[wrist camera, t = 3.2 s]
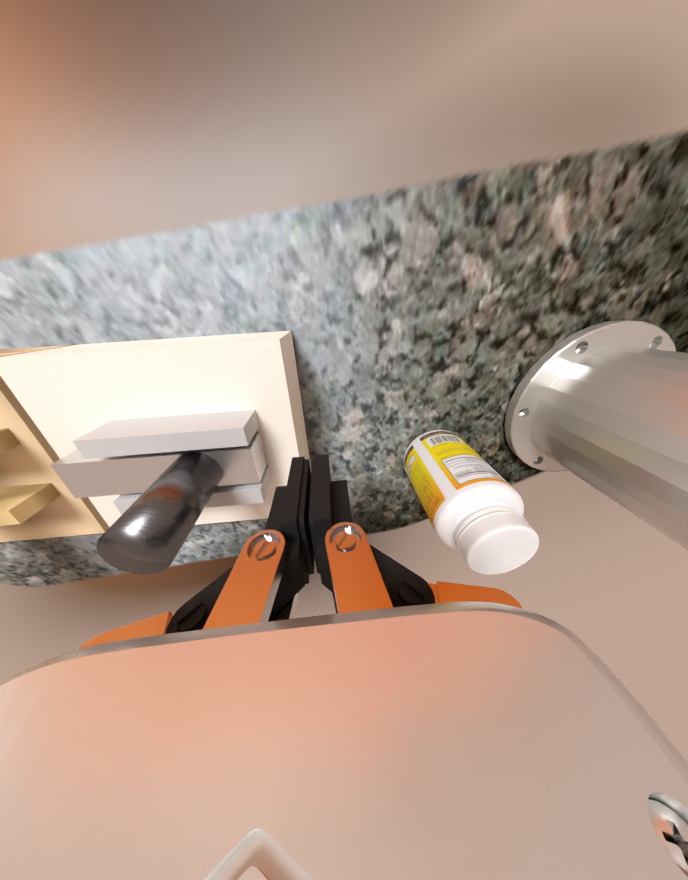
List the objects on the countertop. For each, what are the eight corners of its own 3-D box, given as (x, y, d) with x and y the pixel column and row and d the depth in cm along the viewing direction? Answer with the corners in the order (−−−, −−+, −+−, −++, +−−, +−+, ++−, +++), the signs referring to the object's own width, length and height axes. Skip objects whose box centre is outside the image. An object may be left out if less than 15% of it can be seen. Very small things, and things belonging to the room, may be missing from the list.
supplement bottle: (422, 488, 24) (480, 595, 15) (389, 454, 22) (433, 555, 13) (473, 454, 23) (569, 551, 14) (442, 414, 21) (533, 497, 12)
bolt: (259, 429, 14) (210, 521, 8) (267, 464, 16) (230, 566, 9) (83, 443, 14) (-103, 549, 8) (104, 477, 15) (-44, 592, 9)
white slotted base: (291, 330, 17) (269, 346, 10) (311, 473, 23) (306, 541, 16) (78, 344, 16) (-84, 370, 10) (155, 487, 22) (84, 562, 16)
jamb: (70, 345, 16) (-98, 371, 10) (149, 487, 22) (76, 563, 16) (-73, 354, 16) (-344, 387, 10) (45, 496, 22) (-75, 577, 15)
